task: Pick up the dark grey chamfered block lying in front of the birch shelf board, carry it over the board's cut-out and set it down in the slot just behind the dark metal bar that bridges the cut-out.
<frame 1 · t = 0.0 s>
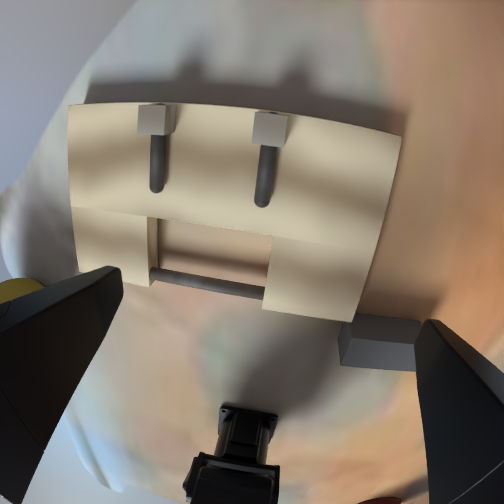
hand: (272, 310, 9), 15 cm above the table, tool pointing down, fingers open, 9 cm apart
dark grey chamfered block: (379, 329, 26), on the table
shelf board: (215, 202, 23), on the table
flower pot: (49, 302, 31), on the table
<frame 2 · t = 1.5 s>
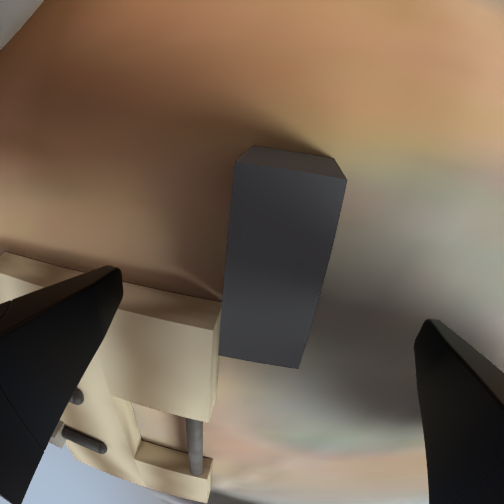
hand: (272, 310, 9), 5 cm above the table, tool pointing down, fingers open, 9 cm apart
dark grey chamfered block: (279, 237, 13), on the table
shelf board: (121, 407, 20), on the table
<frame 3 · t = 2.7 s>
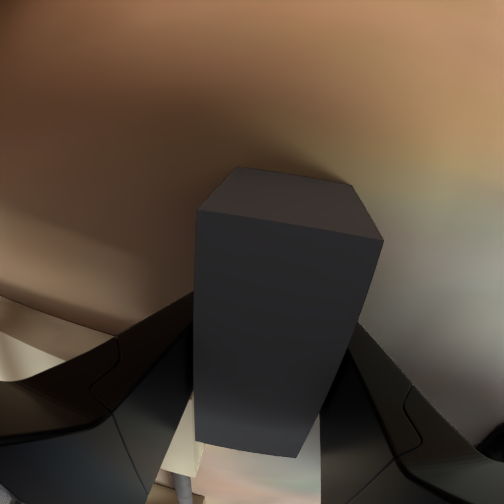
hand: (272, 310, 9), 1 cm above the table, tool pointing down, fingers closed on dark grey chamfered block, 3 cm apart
dark grey chamfered block: (275, 290, 10), on the table, touching gripper
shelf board: (104, 446, 17), on the table
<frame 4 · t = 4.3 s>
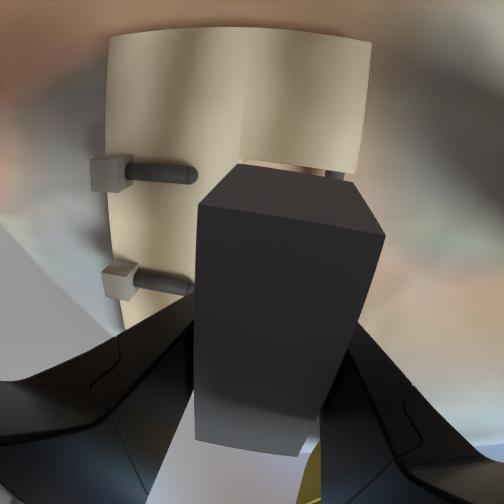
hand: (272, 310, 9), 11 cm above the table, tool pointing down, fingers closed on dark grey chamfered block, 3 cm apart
dark grey chamfered block: (275, 288, 10), point 10 cm above the table, touching gripper
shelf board: (224, 223, 20), on the table
flower pot: (359, 423, 27), on the table
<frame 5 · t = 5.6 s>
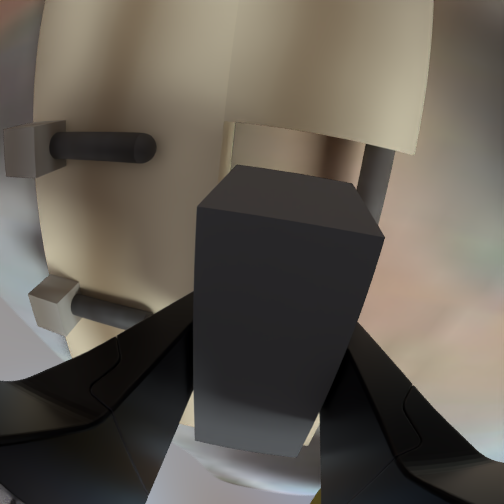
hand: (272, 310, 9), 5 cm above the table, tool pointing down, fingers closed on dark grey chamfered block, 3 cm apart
dark grey chamfered block: (275, 289, 10), point 4 cm above the table, touching gripper
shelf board: (200, 226, 13), on the table
when the fingers open (3 cm above the table, at t = 6.2 s): dark grey chamfered block drops 2 cm, resting in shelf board.
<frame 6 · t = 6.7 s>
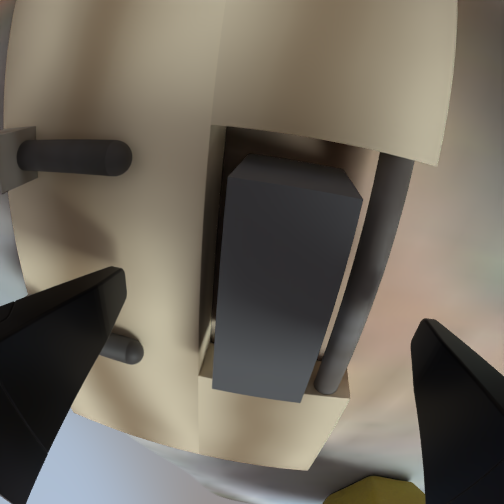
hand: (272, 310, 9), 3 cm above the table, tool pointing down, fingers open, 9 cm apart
dark grey chamfered block: (280, 256, 12), resting in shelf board
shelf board: (188, 244, 12), on the table
flower pot: (369, 486, 19), on the table
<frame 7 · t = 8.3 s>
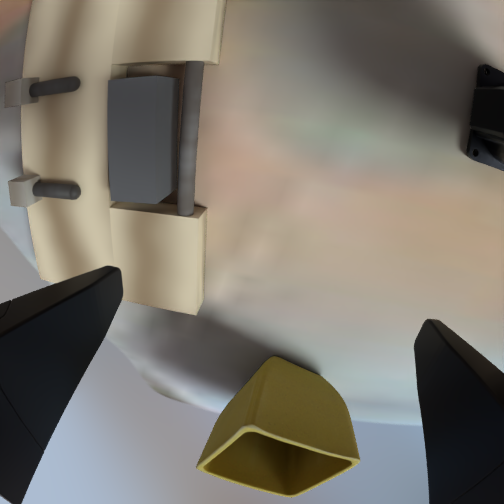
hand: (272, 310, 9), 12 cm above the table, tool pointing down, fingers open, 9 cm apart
dark grey chamfered block: (156, 133, 19), resting in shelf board
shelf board: (110, 133, 19), on the table
flower pot: (282, 379, 27), on the table
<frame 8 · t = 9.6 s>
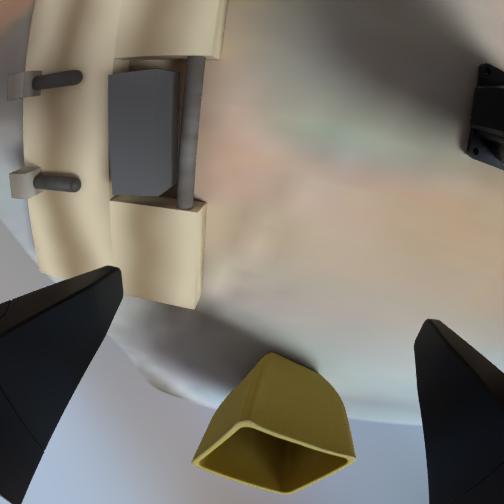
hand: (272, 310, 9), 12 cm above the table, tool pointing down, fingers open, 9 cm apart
dark grey chamfered block: (157, 127, 19), resting in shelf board
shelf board: (112, 126, 19), on the table
flower pot: (279, 376, 27), on the table
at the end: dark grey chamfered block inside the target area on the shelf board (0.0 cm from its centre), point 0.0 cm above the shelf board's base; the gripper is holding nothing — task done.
